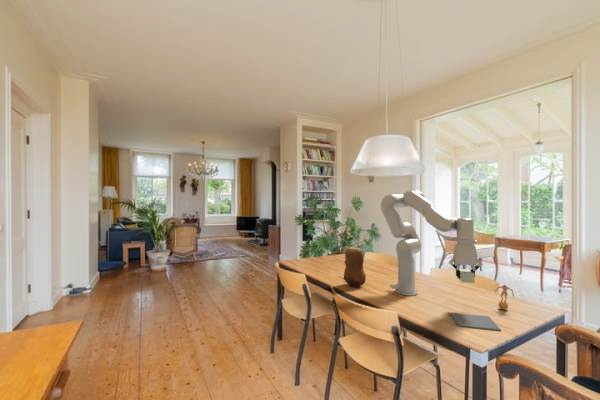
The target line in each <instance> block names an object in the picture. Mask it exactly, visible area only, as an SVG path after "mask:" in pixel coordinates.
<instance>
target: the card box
mask: <svg viewBox="0 0 600 400" xmlns="http://www.w3.org/2000/svg"><path fill="white" fill-rule="evenodd" d="M459 270H460V278H458V277H457V276H456V278H457V279H458V280H459V281H460V282H461V283H469V284H470V283H471V284H475V283H476V282H475V277H474V273H473V272H471V269H468V268H467V269H466V268H465V269H464V268H459Z"/></svg>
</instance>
